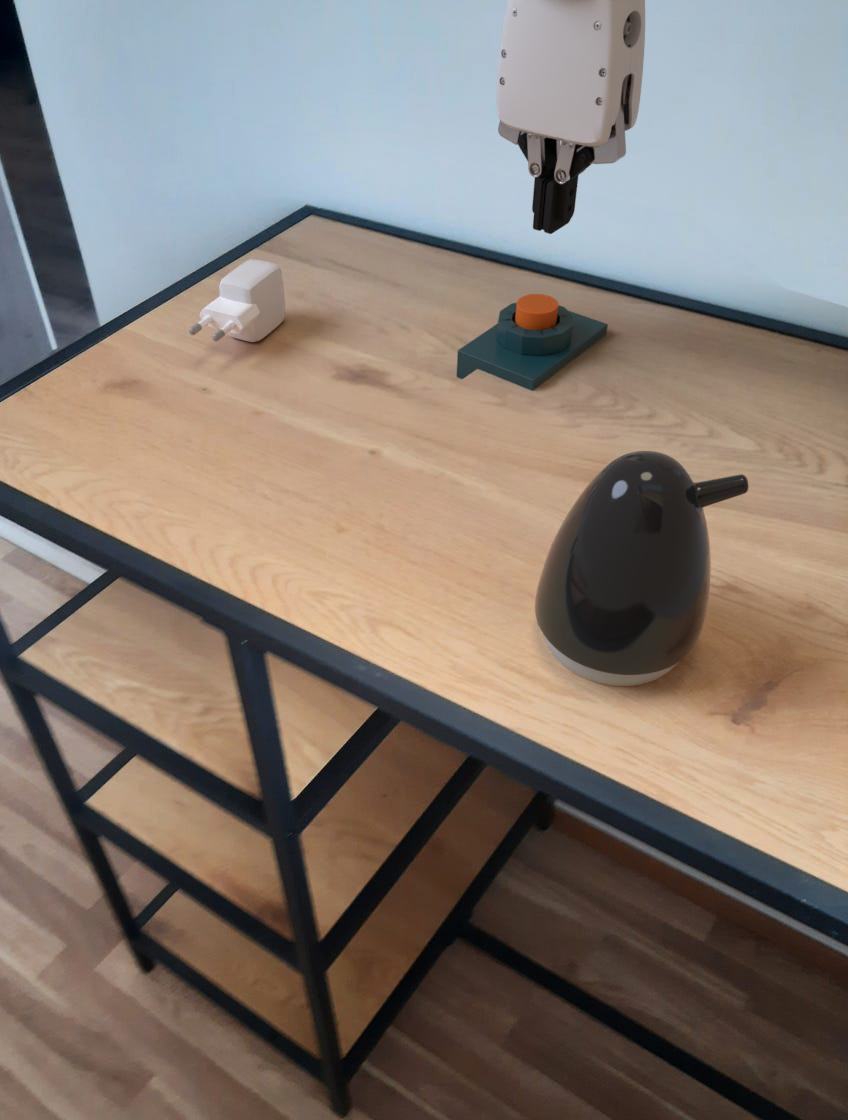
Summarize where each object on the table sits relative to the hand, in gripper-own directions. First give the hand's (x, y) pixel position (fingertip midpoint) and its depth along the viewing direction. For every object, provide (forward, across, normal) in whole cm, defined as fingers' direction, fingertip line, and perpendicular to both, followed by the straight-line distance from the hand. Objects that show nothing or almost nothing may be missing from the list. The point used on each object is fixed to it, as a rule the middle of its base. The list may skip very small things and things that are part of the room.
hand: (551, 225), depth 76 cm
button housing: (+12, 0, 0) cm, 13 cm away
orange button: (+8, 0, 0) cm, 8 cm away
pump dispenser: (+13, -24, +27) cm, 38 cm away
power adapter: (+12, +24, +14) cm, 31 cm away
